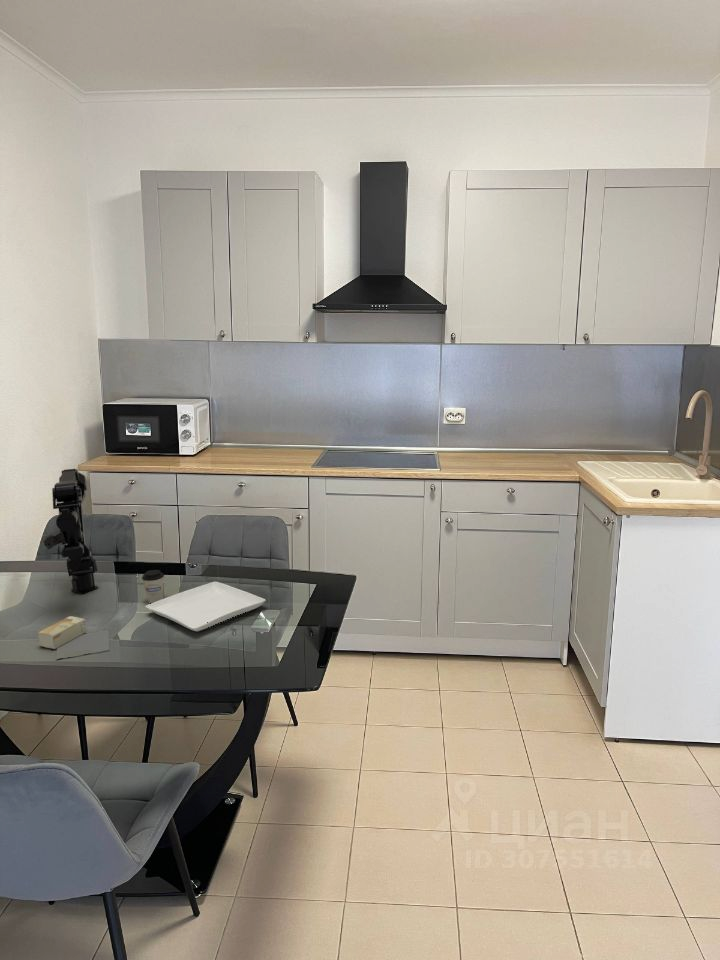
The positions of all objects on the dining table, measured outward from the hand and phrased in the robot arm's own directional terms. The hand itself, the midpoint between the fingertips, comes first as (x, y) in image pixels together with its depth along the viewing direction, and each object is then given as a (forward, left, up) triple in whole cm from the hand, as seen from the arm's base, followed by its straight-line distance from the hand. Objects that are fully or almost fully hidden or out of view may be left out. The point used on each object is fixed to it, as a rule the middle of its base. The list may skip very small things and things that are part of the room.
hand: (76, 569), depth 234 cm
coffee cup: (-15, +18, -13) cm, 27 cm away
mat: (+17, +24, -13) cm, 33 cm away
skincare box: (+12, +15, -11) cm, 22 cm away
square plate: (-17, +39, -14) cm, 45 cm away
